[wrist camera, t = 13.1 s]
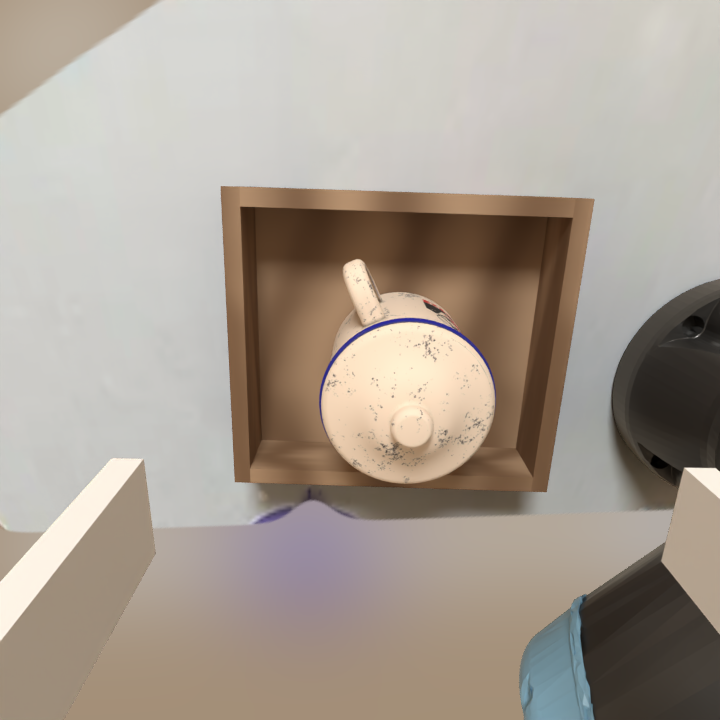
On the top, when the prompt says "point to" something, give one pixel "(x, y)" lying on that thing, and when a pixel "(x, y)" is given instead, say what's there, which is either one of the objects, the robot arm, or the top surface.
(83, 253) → the top surface
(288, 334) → the walnut box
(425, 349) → the teacup with lid
